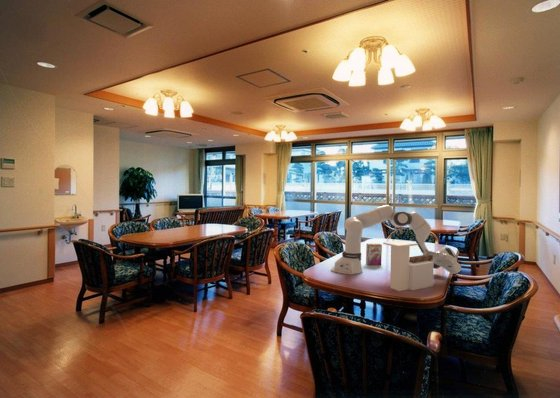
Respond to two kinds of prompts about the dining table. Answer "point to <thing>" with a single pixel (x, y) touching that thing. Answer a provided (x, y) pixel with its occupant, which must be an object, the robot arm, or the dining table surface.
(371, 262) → the candy bar box
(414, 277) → the stepped stand
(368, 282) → the dining table surface
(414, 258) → the walnut bar
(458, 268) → the robot arm
